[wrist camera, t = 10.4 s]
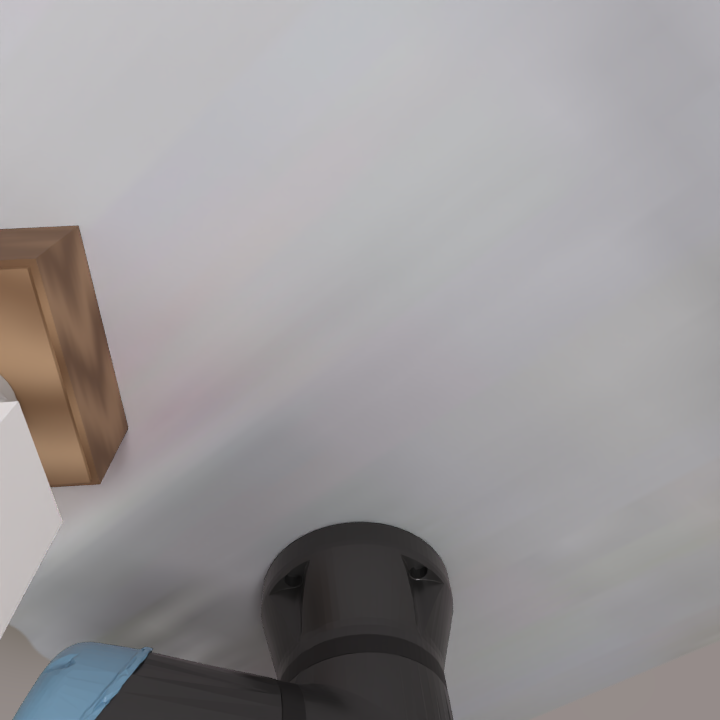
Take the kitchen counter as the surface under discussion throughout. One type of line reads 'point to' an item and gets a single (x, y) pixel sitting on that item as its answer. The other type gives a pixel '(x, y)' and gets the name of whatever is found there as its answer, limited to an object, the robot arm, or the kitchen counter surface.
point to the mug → (6, 391)
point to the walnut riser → (58, 354)
